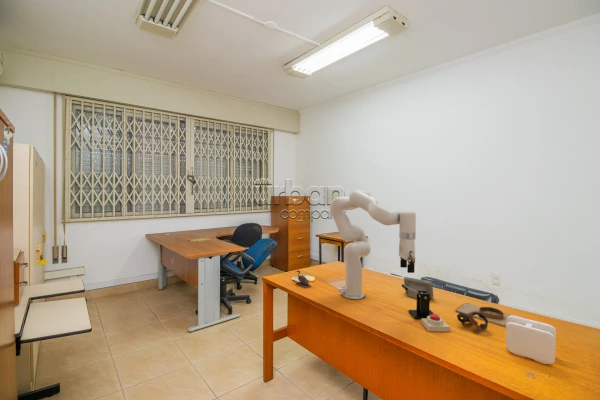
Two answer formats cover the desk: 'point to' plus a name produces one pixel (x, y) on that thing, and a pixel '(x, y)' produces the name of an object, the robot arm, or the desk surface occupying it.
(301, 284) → the figurine
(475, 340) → the desk surface
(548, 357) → the cable organizer
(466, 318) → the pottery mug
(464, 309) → the board
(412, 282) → the digital clock
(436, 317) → the button
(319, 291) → the desk surface
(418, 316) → the bracket
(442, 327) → the control block
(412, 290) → the lever
